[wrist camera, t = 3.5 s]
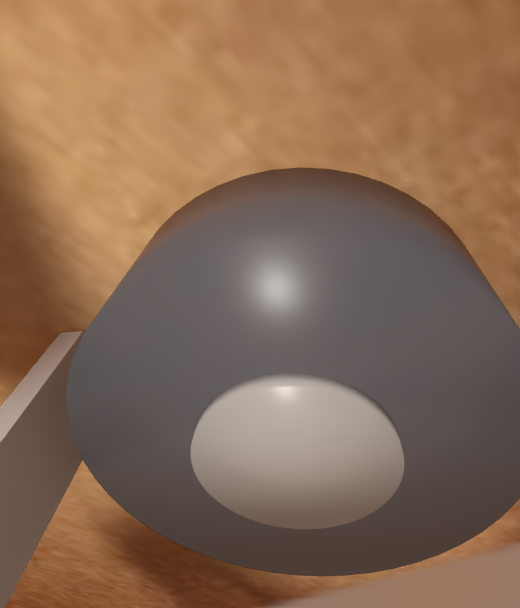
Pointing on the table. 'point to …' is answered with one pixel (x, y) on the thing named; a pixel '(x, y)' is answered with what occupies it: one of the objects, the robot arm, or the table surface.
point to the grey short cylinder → (303, 380)
